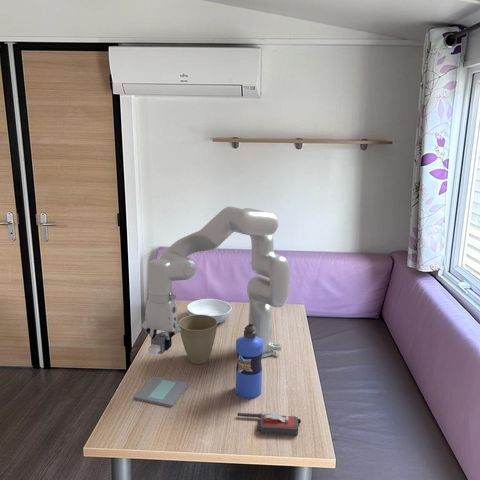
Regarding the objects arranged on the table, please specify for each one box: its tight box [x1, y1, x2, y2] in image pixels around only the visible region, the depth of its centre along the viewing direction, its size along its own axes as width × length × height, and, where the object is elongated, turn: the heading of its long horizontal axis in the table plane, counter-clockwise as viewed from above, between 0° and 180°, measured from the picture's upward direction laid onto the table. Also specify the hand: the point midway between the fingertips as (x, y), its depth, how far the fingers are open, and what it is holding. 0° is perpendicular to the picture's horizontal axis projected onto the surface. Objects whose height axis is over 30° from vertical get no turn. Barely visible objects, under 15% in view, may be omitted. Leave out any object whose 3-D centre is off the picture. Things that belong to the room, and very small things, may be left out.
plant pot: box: [178, 314, 218, 365], centre depth 181 cm, size 15×15×16 cm
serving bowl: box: [186, 298, 233, 324], centre depth 218 cm, size 21×21×7 cm
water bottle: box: [235, 323, 264, 400], centre depth 159 cm, size 9×9×25 cm
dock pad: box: [133, 375, 190, 408], centre depth 160 cm, size 14×14×1 cm
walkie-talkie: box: [236, 411, 302, 437], centre depth 143 cm, size 9×4×20 cm
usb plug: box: [147, 331, 166, 355], centre depth 154 cm, size 10×4×4 cm, turn 163°
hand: (161, 347), depth 156 cm, fingers closed on usb plug, 4 cm apart
